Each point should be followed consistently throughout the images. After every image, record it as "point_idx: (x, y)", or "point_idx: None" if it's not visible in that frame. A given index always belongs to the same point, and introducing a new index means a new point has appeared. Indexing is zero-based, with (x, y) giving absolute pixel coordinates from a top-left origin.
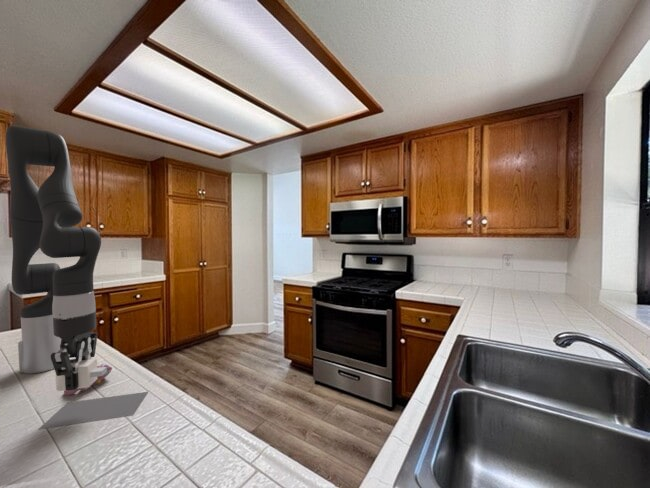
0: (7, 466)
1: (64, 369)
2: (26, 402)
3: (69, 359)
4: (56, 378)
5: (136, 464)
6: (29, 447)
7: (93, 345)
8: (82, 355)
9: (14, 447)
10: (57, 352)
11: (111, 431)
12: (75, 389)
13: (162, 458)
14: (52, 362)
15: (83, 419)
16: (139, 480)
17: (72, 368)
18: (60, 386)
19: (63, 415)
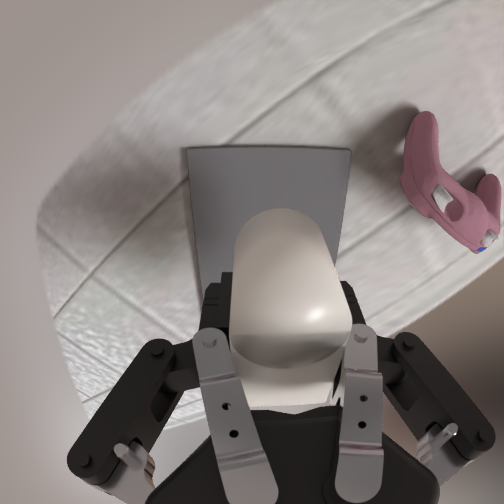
0: (63, 177)
1: (164, 382)
2: (411, 3)
3: (146, 450)
4: (244, 260)
5: (91, 367)
6: (118, 176)
7: (406, 423)
8: (333, 398)
9: (123, 133)
10: (94, 485)
11: (163, 323)
12: (403, 166)
13: (105, 386)
14: (88, 423)
15: (214, 256)
16: (71, 371)
17: (179, 398)
18: (235, 254)
19: (256, 183)
